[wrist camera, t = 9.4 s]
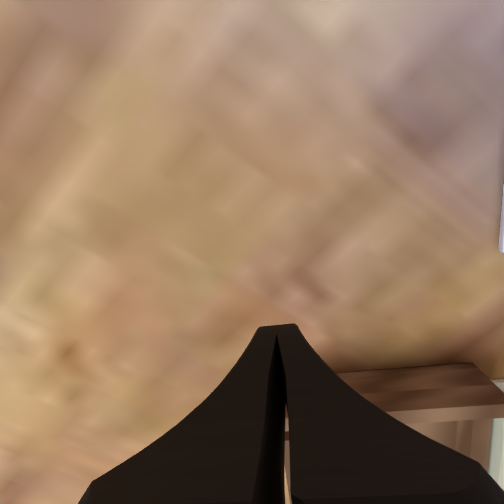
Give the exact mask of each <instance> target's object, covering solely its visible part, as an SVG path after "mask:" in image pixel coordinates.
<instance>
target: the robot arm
mask: <svg viewBox="0 0 504 504" xmlns="http://www.w3.org/2000/svg"><path fill="white" fill-rule="evenodd" d="M499 250H500V252H501V253H503V254H504V186H503V198H502V211H501V224H500V237H499ZM286 407H287V413H288V425H289V452H290V494H291V501H292V504H504V490H503V489H502V488H501V487H500V486H499V485H498V484H497V483H496V481H495V480H494V479H493V478H492V477H491V476H490V475H489V474H488V472H487V471H486V470H485V469H484V468H483V467H482V465H481V464H480V463H479V462H477V461H475V460H473V459H471V458H469V457H467V456H465V455H463V454H461V453H459V452H457V451H455V450H453V449H451V448H449V447H447V446H445V445H443V444H441V443H439V442H437V441H435V440H433V439H430V438H428V437H427V436H425V435H423V434H421V433H419V432H418V431H416V430H414V429H412V428H411V427H409V426H407V425H405V424H404V423H402V422H400V421H398V420H397V419H395V418H394V417H392V416H390V415H389V414H387V413H386V412H384V411H383V410H381V409H380V408H378V407H377V406H376V405H374V404H373V403H371V402H370V401H368V400H367V399H365V398H364V397H363V396H361V395H360V394H359V393H358V392H356V391H355V390H354V389H353V388H351V387H350V386H349V385H348V384H347V383H346V382H344V381H343V380H342V379H341V378H340V377H339V376H338V375H337V374H336V373H335V372H334V371H333V370H332V369H331V368H330V367H329V366H328V365H327V364H326V363H325V362H324V361H323V360H322V359H321V358H320V357H319V355H318V354H317V353H316V352H315V351H314V349H313V348H312V347H311V346H310V344H309V343H308V342H307V340H306V339H305V338H304V336H303V335H302V333H301V332H300V330H299V328H298V326H297V325H296V324H283V325H273V326H263V327H259V328H258V329H257V331H256V333H255V334H254V336H253V338H252V340H251V341H250V343H249V345H248V346H247V348H246V349H245V351H244V352H243V354H242V355H241V357H240V358H239V360H238V361H237V363H236V364H235V365H234V367H233V368H232V369H231V371H230V372H229V373H228V374H227V376H226V377H225V378H224V380H223V381H222V382H221V383H220V384H219V385H218V387H217V388H216V389H215V390H214V391H213V392H212V393H211V394H210V395H209V396H208V397H207V398H206V399H205V400H204V401H203V402H202V403H201V404H200V405H199V406H198V407H196V408H195V409H194V410H193V411H192V412H191V413H190V414H188V415H187V416H186V417H185V418H184V419H183V420H182V421H181V422H179V423H178V424H177V425H176V426H174V427H173V428H172V429H170V430H169V431H168V432H167V433H165V434H164V435H163V436H161V437H160V438H158V439H157V440H156V441H154V442H153V443H152V444H150V445H149V446H147V447H146V448H144V449H143V450H142V451H140V452H139V453H137V454H136V455H134V456H132V457H131V458H129V459H128V460H126V461H124V462H123V463H121V464H120V465H118V466H116V467H115V468H113V469H112V470H110V471H108V472H107V473H105V474H104V475H102V476H100V477H99V478H97V479H95V480H93V481H92V482H91V484H90V485H89V487H88V488H87V490H86V492H85V493H84V495H83V496H82V498H81V499H80V501H79V503H78V504H285V491H284V460H285V417H286Z"/></svg>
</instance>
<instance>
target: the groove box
mask: <svg viewBox="0 0 504 504" xmlns="http://www.w3.org/2000/svg"><path fill="white" fill-rule="evenodd" d="M336 374H337V375H338V376H339V377H340V378H341V379H342V380H343V381H344V382H346V383H347V384H348V385H349V386H350V387H351V388H353V389H354V390H355V391H356V392H358V393H359V394H360V395H361V396H363V397H364V398H365V399H367V400H368V401H370V402H371V403H373V404H374V405H376V406H377V407H378V408H380V409H381V410H383V411H384V412H386V413H387V414H389V415H390V416H392V417H394V418H395V419H397V420H398V421H400V422H402V423H404V424H405V425H407V426H409V427H411V428H412V429H414V430H416V431H418V432H419V433H421V434H423V435H425V436H427V437H428V438H430V439H433V440H435V441H437V442H439V443H441V444H443V445H445V446H447V447H449V448H451V449H453V450H455V451H457V452H459V453H461V454H463V455H465V456H467V457H469V458H471V459H473V460H475V461H477V462H479V463H480V464H481V465H482V467H483V468H484V469H485V470H486V471H487V472H488V461H489V449H490V437H491V426H492V419H494V418H504V392H503V391H502V390H501V389H500V388H498V387H497V386H496V385H495V384H494V383H493V382H492V381H491V380H490V379H489V378H488V377H487V376H486V375H485V374H484V373H483V372H481V371H480V370H479V369H478V368H477V367H476V366H475V365H474V364H473V363H461V364H448V365H435V366H423V367H410V368H397V369H385V370H372V371H359V372H347V373H336ZM284 463H285V470H286V477H287V484H288V491H289V498H290V504H292V501H291V494H290V452H289V425H288V413H287V407H286V417H285V460H284Z"/></svg>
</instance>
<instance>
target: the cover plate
mask: <svg viewBox="0 0 504 504" xmlns="http://www.w3.org/2000/svg"><path fill="white" fill-rule="evenodd" d="M491 381H492V382H493V383H494V384H495V385H496V386H497V387H498V388H500V389H501V390H502V391H503V392H504V379H498V380H491ZM488 474H489V475H490V476H491V477H492V478H493V479H494V480H495V481H496V483H497V484H498V485H499V486H500V487H501V488H502V489H503V490H504V418H494V419H492V426H491V437H490V449H489V461H488Z"/></svg>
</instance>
